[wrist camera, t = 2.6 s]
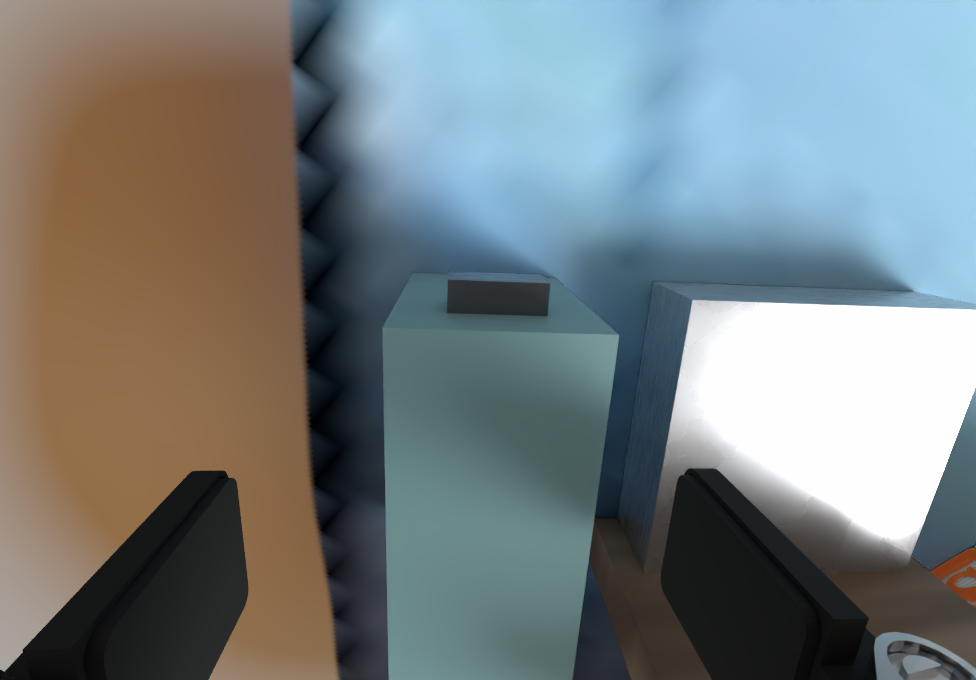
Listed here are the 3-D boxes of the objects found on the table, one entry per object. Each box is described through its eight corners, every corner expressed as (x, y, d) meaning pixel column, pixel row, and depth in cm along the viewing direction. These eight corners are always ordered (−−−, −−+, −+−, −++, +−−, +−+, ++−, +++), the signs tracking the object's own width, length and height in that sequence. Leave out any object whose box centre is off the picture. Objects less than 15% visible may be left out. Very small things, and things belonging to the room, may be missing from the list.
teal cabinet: (412, 248, 16) (381, 289, 10) (557, 254, 17) (624, 298, 10) (412, 515, 19) (388, 685, 13) (533, 515, 20) (572, 681, 13)
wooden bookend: (625, 280, 17) (977, 468, 5) (940, 292, 18) (1820, 478, 6) (588, 557, 20) (753, 1024, 9) (852, 556, 21) (1310, 982, 10)
